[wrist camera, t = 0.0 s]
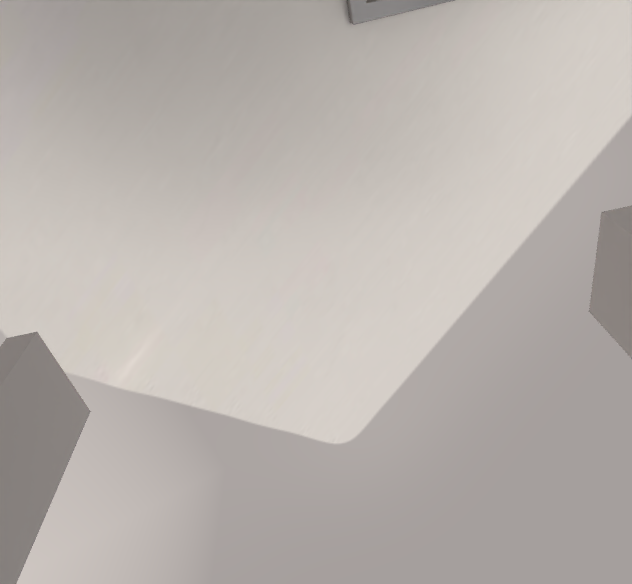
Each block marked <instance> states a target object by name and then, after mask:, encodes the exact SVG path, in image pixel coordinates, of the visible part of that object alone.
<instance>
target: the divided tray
mask: <svg viewBox="0 0 632 584" xmlns="http://www.w3.org/2000/svg"><path fill="white" fill-rule="evenodd" d="M450 1H454V0H368V1H366V0H347V4H348V11H349V18H350V23H352V24H353V25H355V24H359V23H363V22H367V21H371V20H376V19H380V18H384V17H388V16H392V15H396V14H400V13H404V12H408V11H413V10H417V9H421V8H425V7H429V6H433V5H437V4H441V3H445V2H450Z"/></svg>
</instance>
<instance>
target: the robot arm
mask: <svg viewBox="0 0 632 584" xmlns="http://www.w3.org/2000/svg"><path fill="white" fill-rule="evenodd" d="M589 312H590V313H591V314H592V315H593V316H594V318H595V319H596V320H597V321H598V322H599V323H600V324H601V325H602V326H603V327H604V329H605V330H606V331H607V332H608V333H609V334H610V335H611V336H612V338H614V339H615V341H616V342H617V343H618V344H619V345H620V346H621V347H622V348H623V350H624V351H625V352H626V353H627V354H628V355H629V356H630V357H631V358H632V206H628V207H623V208H619V209H614V210H609V211H604V212H602V213H601V220H600V228H599V237H598V244H597V253H596V260H595V268H594V276H593V284H592V292H591V300H590V308H589ZM89 413H90V410H89V408H88V407H87V405H86V404H85V402H84V401H83V399H82V398H81V396H80V395H79V394H78V392H77V391H76V389H75V387H74V386H73V385H72V383H71V382H70V380H69V379H68V377H67V376H66V374H65V373H64V371H63V370H62V368H61V367H60V365H59V364H58V362H57V361H56V359H55V358H54V356H53V355H52V353H51V352H50V350H49V349H48V347H47V346H46V344H45V343H44V341H43V340H42V338H41V337H40V335H39V334H38V332H34V333H29V334H24V335H20V336H15V337H10V338H6V340H5V341H4V342H3V344H2V345H1V346H0V584H16V583H17V580H18V578H19V576H20V574H21V571H22V569H23V567H24V564H25V562H26V559H27V557H28V555H29V553H30V550H31V548H32V546H33V543H34V541H35V539H36V537H37V534H38V532H39V529H40V527H41V525H42V522H43V520H44V518H45V516H46V513H47V511H48V508H49V506H50V504H51V502H52V499H53V497H54V495H55V492H56V490H57V488H58V485H59V483H60V481H61V478H62V476H63V474H64V471H65V469H66V467H67V465H68V462H69V460H70V458H71V455H72V453H73V451H74V448H75V446H76V444H77V441H78V439H79V437H80V434H81V432H82V430H83V427H84V425H85V423H86V420H87V418H88V416H89Z"/></svg>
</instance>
